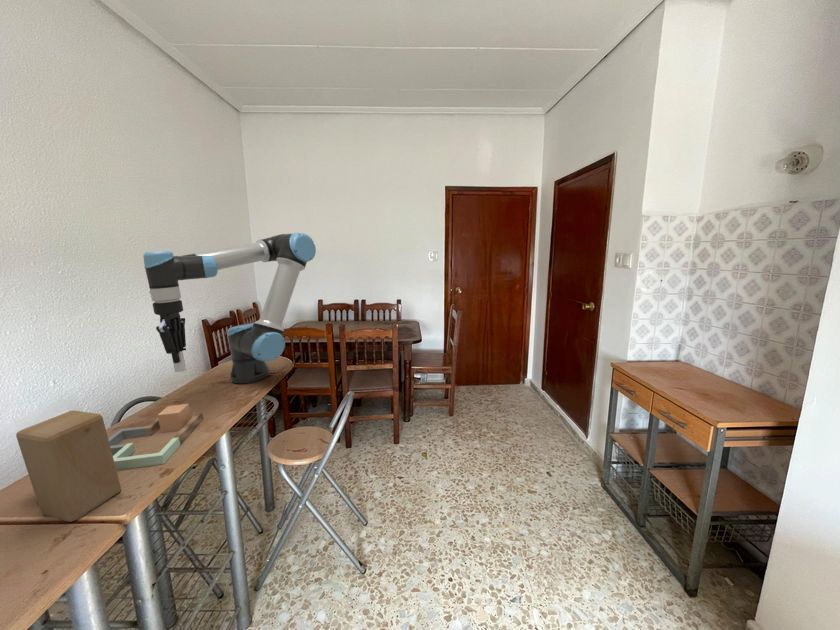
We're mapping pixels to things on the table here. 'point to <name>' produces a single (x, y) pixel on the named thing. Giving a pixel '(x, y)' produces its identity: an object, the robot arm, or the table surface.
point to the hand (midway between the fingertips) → (180, 370)
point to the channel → (183, 432)
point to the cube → (174, 418)
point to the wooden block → (69, 464)
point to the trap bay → (124, 437)
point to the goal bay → (143, 456)
